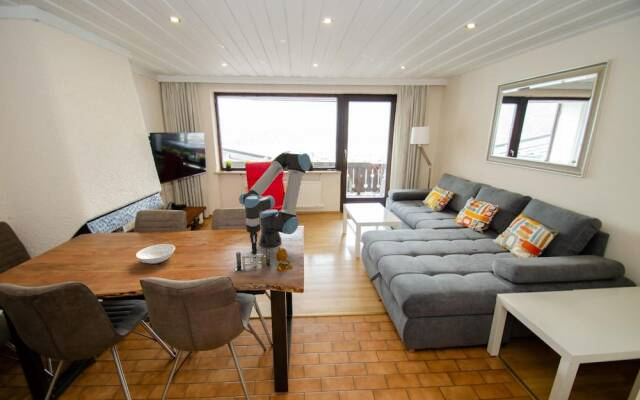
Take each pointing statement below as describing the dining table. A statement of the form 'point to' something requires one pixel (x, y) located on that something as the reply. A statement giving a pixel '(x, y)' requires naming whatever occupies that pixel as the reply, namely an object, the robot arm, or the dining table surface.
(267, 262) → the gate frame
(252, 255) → the gate
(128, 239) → the dining table surface
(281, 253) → the figurine
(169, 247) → the bowl
